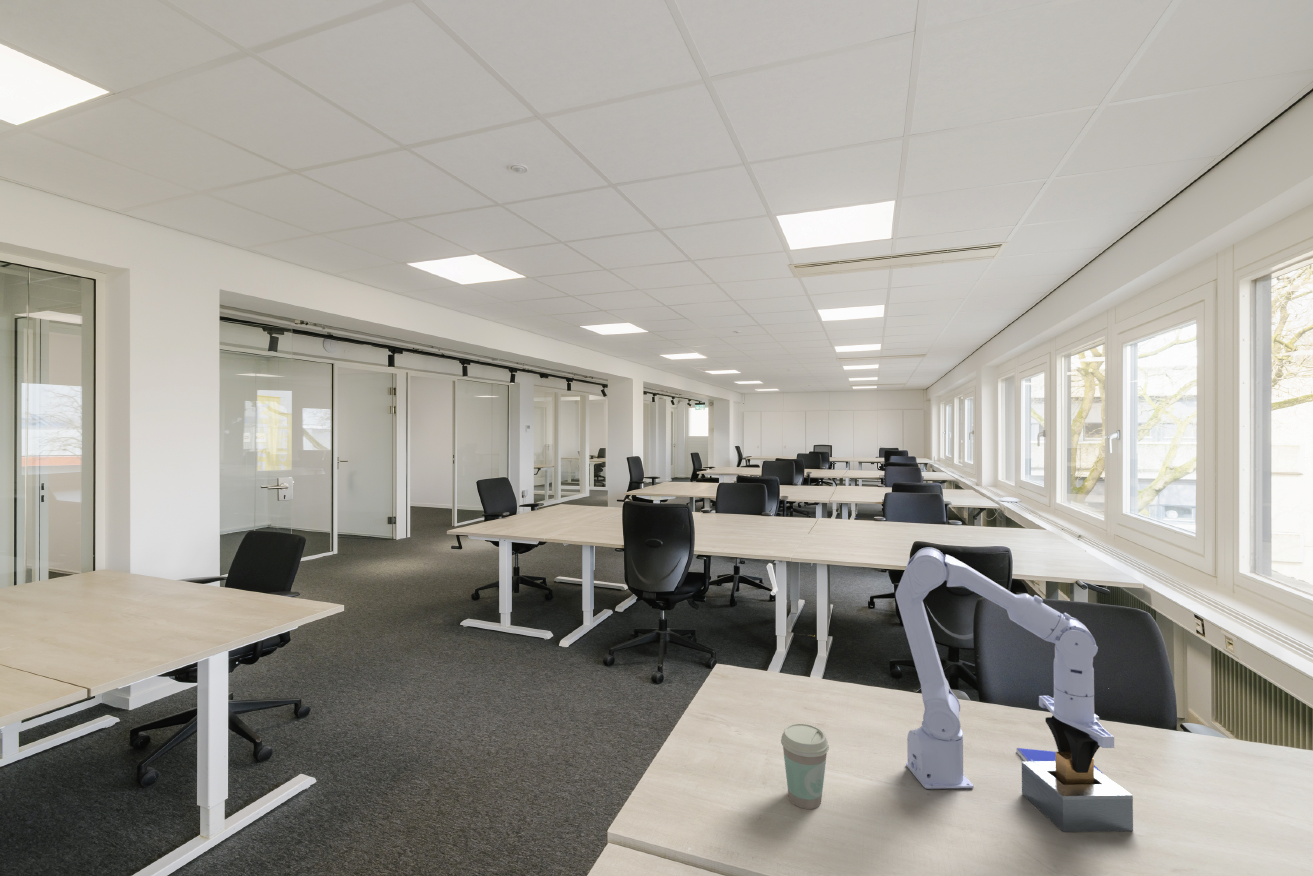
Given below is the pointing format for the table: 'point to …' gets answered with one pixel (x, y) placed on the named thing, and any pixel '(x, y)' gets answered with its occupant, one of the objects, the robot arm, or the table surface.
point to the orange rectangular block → (1072, 771)
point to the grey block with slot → (1077, 800)
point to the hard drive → (1038, 755)
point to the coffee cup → (804, 763)
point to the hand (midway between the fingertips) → (1074, 766)
